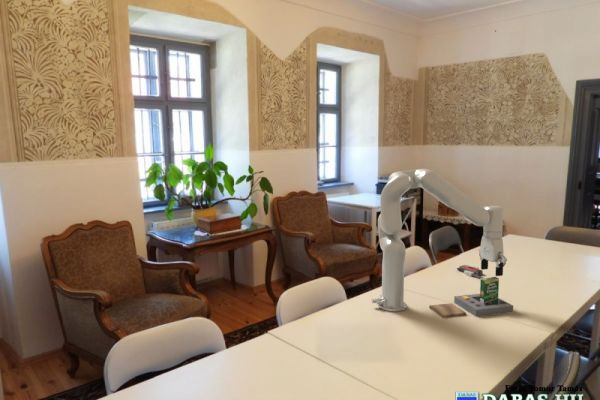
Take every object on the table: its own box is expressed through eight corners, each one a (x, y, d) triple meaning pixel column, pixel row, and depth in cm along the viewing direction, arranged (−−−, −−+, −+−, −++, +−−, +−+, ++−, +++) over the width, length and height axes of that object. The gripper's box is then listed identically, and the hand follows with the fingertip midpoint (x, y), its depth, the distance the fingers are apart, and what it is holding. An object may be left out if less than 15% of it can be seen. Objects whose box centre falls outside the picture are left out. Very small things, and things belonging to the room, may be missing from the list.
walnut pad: (442, 317, 177) (442, 315, 177) (429, 307, 187) (429, 305, 187) (466, 315, 179) (466, 312, 179) (451, 305, 190) (451, 303, 190)
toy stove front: (475, 316, 177) (476, 308, 177) (454, 302, 193) (454, 295, 192) (513, 312, 181) (513, 304, 181) (488, 298, 197) (489, 291, 196)
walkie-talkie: (453, 271, 239) (483, 281, 222) (454, 263, 239) (483, 273, 221) (465, 269, 243) (494, 279, 225) (465, 261, 243) (495, 271, 225)
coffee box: (483, 309, 185) (484, 280, 183) (478, 306, 188) (480, 278, 186) (498, 306, 188) (499, 278, 186) (493, 304, 190) (495, 276, 188)
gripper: (472, 231, 191) (471, 267, 193) (498, 239, 174) (497, 279, 176) (487, 229, 192) (486, 266, 195) (514, 237, 176) (512, 277, 178)
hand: (491, 272), depth 186 cm, fingers open, 9 cm apart
